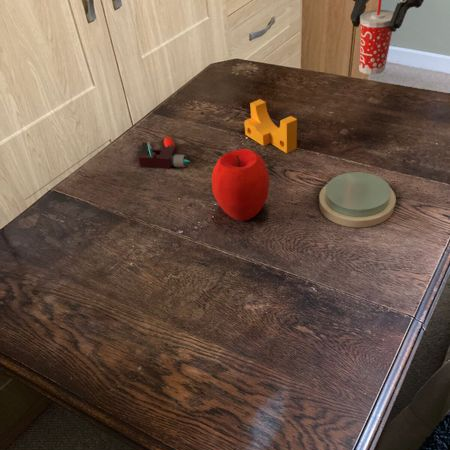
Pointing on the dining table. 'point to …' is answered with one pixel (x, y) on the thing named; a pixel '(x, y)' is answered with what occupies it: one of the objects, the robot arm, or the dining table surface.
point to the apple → (240, 183)
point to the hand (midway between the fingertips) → (372, 26)
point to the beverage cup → (374, 40)
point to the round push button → (357, 200)
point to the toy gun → (161, 156)
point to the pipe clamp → (271, 128)
